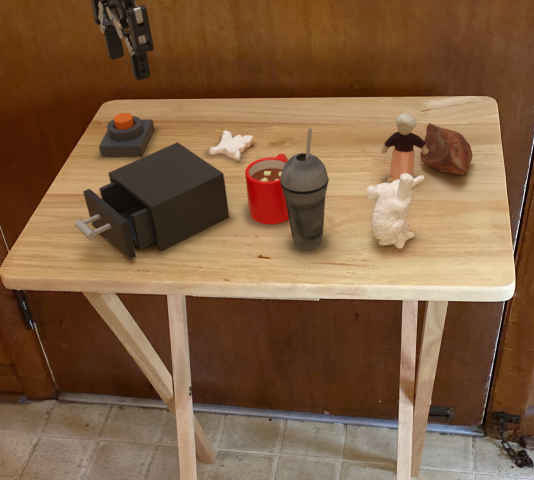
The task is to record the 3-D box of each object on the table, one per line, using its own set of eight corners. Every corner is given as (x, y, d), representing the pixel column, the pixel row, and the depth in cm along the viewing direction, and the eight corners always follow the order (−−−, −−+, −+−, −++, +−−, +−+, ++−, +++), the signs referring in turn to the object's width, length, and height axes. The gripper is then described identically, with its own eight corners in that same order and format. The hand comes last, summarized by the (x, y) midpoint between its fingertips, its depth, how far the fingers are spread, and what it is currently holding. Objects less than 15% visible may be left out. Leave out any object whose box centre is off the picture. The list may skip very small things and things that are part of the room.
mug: (307, 185, 141) (305, 145, 136) (289, 226, 133) (286, 185, 127) (263, 181, 143) (259, 142, 138) (243, 221, 135) (238, 180, 129)
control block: (142, 156, 152) (138, 137, 150) (101, 156, 154) (96, 137, 151) (154, 129, 160) (151, 110, 157) (115, 129, 161) (111, 111, 158)
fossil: (473, 174, 133) (451, 117, 131) (425, 193, 137) (403, 137, 135) (481, 161, 144) (461, 108, 142) (437, 178, 148) (416, 127, 146)
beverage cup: (285, 229, 132) (276, 117, 119) (330, 227, 132) (326, 115, 118) (284, 257, 127) (275, 143, 113) (331, 255, 126) (327, 141, 113)
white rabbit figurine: (420, 228, 129) (424, 163, 121) (421, 254, 125) (425, 188, 117) (367, 227, 131) (367, 162, 123) (365, 253, 126) (365, 187, 118)
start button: (131, 130, 153) (129, 122, 151) (113, 130, 153) (111, 122, 152) (136, 121, 155) (134, 112, 154) (118, 121, 156) (116, 112, 155)
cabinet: (160, 251, 130) (151, 207, 124) (118, 215, 139) (107, 172, 133) (229, 217, 136) (223, 173, 130) (184, 184, 144) (177, 142, 138)
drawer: (106, 271, 126) (96, 235, 122) (69, 236, 134) (59, 201, 129) (195, 226, 133) (189, 191, 128) (155, 196, 141) (148, 161, 136)
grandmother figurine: (382, 188, 139) (383, 121, 130) (379, 176, 141) (381, 109, 133) (427, 185, 138) (432, 118, 130) (424, 173, 141) (428, 106, 132)
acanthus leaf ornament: (224, 136, 156) (223, 127, 154) (257, 142, 153) (256, 133, 152) (206, 155, 151) (204, 146, 150) (238, 161, 148) (237, 152, 147)
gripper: (59, -58, 108) (85, 58, 119) (103, -30, 99) (127, 93, 110) (110, -71, 111) (131, 44, 122) (157, -45, 102) (175, 77, 113)
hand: (129, 67), depth 116 cm, fingers open, 8 cm apart
